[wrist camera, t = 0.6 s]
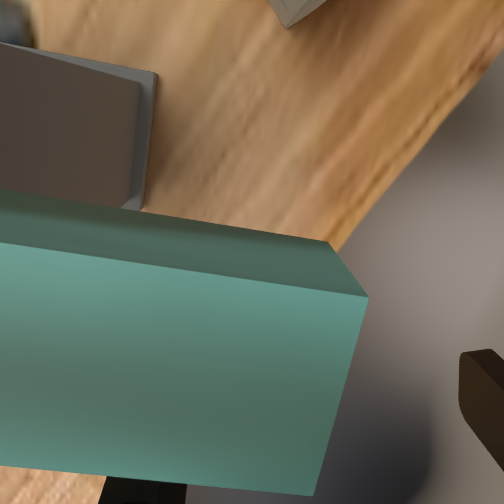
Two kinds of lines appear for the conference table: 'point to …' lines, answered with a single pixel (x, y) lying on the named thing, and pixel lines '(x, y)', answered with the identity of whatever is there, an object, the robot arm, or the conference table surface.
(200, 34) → the conference table surface
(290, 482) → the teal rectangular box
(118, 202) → the pedestal
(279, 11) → the skincare box
